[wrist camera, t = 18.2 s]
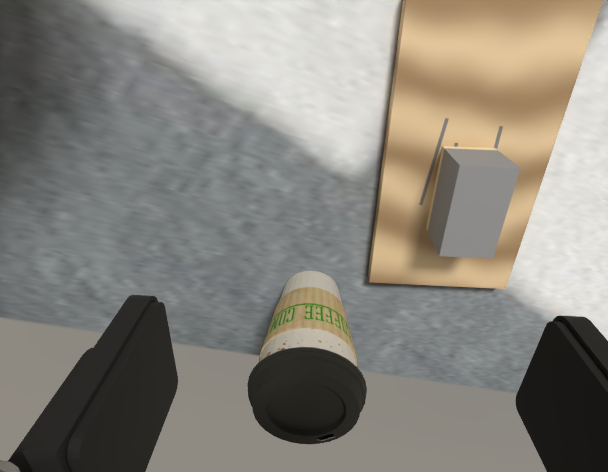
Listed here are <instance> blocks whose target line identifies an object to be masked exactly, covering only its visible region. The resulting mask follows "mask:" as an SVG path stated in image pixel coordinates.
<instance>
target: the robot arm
mask: <svg viewBox="0 0 608 472" xmlns="http://www.w3.org/2000/svg"><path fill="white" fill-rule="evenodd" d="M177 385H178V376H177V372H176V366H175V360H174V355H173V349H172V343H171V338H170V332H169V327H168V321H167V316H166V310H165V306H164V304H163V303H162V302H158V300H157V298H156V297H155V296H143V295H131V296H129V297H128V298H127V300H126V301H125V303H124V304H123V306H122V307H121V309H120V310H119V311H118V313H117V314H116V316H115V317H114V319H113V320H112V322H111V323H110V325H109V326H108V327H107V329H106V330H105V332H104V333H103V335H102V336H101V338H100V339H99V341H98V342H97V344H96V345H95V347H94V348H90V349H89V350H87V351H86V352H85V353H84V354H83V355H82V357H81V358H80V360H79V361H78V362H77V364H76V365H75V367H74V368H73V370H72V371H71V372H70V374H69V375H68V377H67V378H66V379H65V381H64V382H63V384H62V385H61V387H60V388H59V390H58V391H57V393H56V394H55V395H54V397H53V398H52V399H51V401H50V402H49V404H48V405H47V406H46V408H45V409H44V411H43V412H42V414H41V415H40V416H39V418H38V419H37V421H36V422H35V424H34V425H33V426H32V428H31V429H30V431H29V432H28V433H27V435H26V436H25V438H24V439H23V441H22V442H21V443H20V445H19V447H18V448H17V449H16V451H15V452H14V453H13V455H12V456H11V458H10V459H9V461H2V460H0V472H145V471H146V468H147V466H148V463H149V460H150V458H151V455H152V453H153V450H154V447H155V445H156V442H157V440H158V437H159V435H160V432H161V429H162V427H163V424H164V422H165V419H166V417H167V414H168V412H169V409H170V406H171V404H172V401H173V399H174V396H175V393H176V390H177ZM516 407H517V410H518V413H519V415H520V417H521V419H522V421H523V423H524V425H525V427H526V429H527V431H528V433H529V435H530V437H531V440H532V442H533V443H534V446H535V448H536V450H537V452H538V453H539V456H540V458H541V460H542V462H543V464H544V466H545V468H546V470H547V472H608V341H607V340H606V338H605V337H604V336H603V335H602V334H601V333H600V332H599V330H598V329H597V328H596V327H595V326H594V325H593V323H592V322H591V321H590V320H589V319H587V318H585V317H576V316H557V317H556V318H554V320H553V321H552V322H549V323H547V325H546V327H545V329H544V332H543V334H542V336H541V339H540V341H539V344H538V346H537V348H536V351H535V353H534V355H533V358H532V360H531V362H530V365H529V367H528V369H527V372H526V374H525V377H524V379H523V381H522V384H521V386H520V388H519V391H518V393H517V396H516Z"/></svg>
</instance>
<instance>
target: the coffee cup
mask: <svg viewBox="0 0 608 472" xmlns="http://www.w3.org/2000/svg"><path fill="white" fill-rule="evenodd" d="M366 391H367V389H366V382H365V379H364V377H363V375H362V373H361V372H360V370H359V369H358V368H357V359H356V354H355V350H354V346H353V342H352V338H351V334H350V330H349V326H348V322H347V318H346V314H345V310H344V307H343V305H342V302H341V298H340V294H339V290H338V287H337V285H336V283H335V282H334V280H333V279H332V278H330V277H329V276H327V275H326V274H324V273H321V272H317V271H304V272H300V273H298V274H296V275H294V276H292V277H291V278H290V279H289V280H288V281H287V283H286V285H285V287H284V290H283V293H282V296H281V299H280V301H279V302H278V304H277V306H276V309H275V312H274V315H273V318H272V320H271V323H270V326H269V329H268V332H267V335H266V338H265V341H264V344H263V346H262V349H261V353H260V357H259V363H258V364H257V365H256V366H255V367H254V369H253V370H252V372H251V374H250V376H249V380H248V397H249V400H250V403H251V406H252V407H253V413H254V416H255V418H256V420H257V421H258V423H259V424H260V425H261V426H262V427H263V428H264V429H265V430H266V431H268V432H269V433H271V434H272V435H273V436H276V437H278V438H280V439H283V440H286V441H289V442H294V443H299V444H318V443H324V442H329V441H332V440H335V439H337V438H339V437H341V436H343V435H345V434H346V433H347V432H349V431H350V430H351V429H352V428H353V426H354V425H355V424H356V423H357V420H358V418H359V414H360V412H361V411H362V409H363V406H364V404H365V399H366Z"/></svg>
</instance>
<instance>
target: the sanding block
mask: <svg viewBox="0 0 608 472" xmlns="http://www.w3.org/2000/svg"><path fill="white" fill-rule="evenodd" d="M520 169H521V168H520V167H519V166H517V165H516V164H515V163H514V162H512V161H511V160H510V159H508V158H507V157H506V156H505V155H503V154H502V153H501V152H500V151H498V150H497V149H496V148H476V147H451V146H442V151H441V156H440V161H439V166H438V171H437V176H436V181H435V186H434V191H433V196H432V201H431V206H430V211H429V216H428V221H427V226H426V229H427V231H428V234H429V236H430V238H431V240H432V242H433V244H434V246H435V248H436V250H437V252H438V255H439V256H447V257H469V258H491V259H493V257H494V253H495V250H496V247H497V244H498V240H499V237H500V234H501V231H502V227H503V224H504V221H505V218H506V214H507V211H508V208H509V204H510V201H511V198H512V195H513V191H514V188H515V185H516V182H517V178H518V175H519V172H520Z"/></svg>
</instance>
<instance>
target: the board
mask: <svg viewBox="0 0 608 472" xmlns="http://www.w3.org/2000/svg"><path fill="white" fill-rule="evenodd" d="M602 2H603V0H403V4H402V11H401V19H400V27H399V35H398V43H397V51H396V58H395V66H394V74H393V82H392V90H391V98H390V105H389V113H388V121H387V129H386V137H385V145H384V152H383V160H382V168H381V176H380V184H379V192H378V199H377V207H376V215H375V223H374V231H373V239H372V246H371V254H370V262H369V270H368V277H369V282H371V283H393V284H414V285H435V286H456V287H478V288H499V289H505V288H506V286H507V283H508V280H509V277H510V274H511V271H512V268H513V265H514V262H515V259H516V256H517V253H518V250H519V247H520V244H521V241H522V238H523V235H524V232H525V229H526V226H527V224H528V221H529V218H530V215H531V212H532V209H533V206H534V203H535V200H536V197H537V194H538V191H539V188H540V185H541V182H542V179H543V176H544V173H545V170H546V167H547V164H548V162H549V159H550V156H551V153H552V150H553V147H554V144H555V141H556V138H557V135H558V132H559V129H560V126H561V123H562V120H563V117H564V114H565V111H566V108H567V105H568V102H569V100H570V97H571V94H572V91H573V88H574V85H575V82H576V79H577V76H578V73H579V70H580V67H581V64H582V61H583V58H584V55H585V52H586V49H587V46H588V43H589V41H590V38H591V35H592V32H593V29H594V26H595V23H596V20H597V17H598V14H599V11H600V8H601V5H602ZM442 146H451V147H476V148H496V149H497V150H498V151H500V152H501V153H502V154H503V155H505V156H506V157H507V158H508V159H510V160H511V161H512V162H514V163H515V164H516V165H517V166H519V167H520V168H521V169H520V172H519V175H518V178H517V182H516V185H515V188H514V191H513V195H512V198H511V201H510V204H509V208H508V211H507V214H506V218H505V221H504V224H503V227H502V231H501V234H500V237H499V240H498V244H497V247H496V250H495V253H494V257H493V259H491V258H469V257H447V256H439V255H438V252H437V250H436V248H435V246H434V244H433V242H432V240H431V238H430V236H429V234H428V231H427V229H426V226H427V221H428V216H429V211H430V206H431V201H432V196H433V191H434V186H435V181H436V176H437V171H438V166H439V161H440V156H441V151H442Z"/></svg>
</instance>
